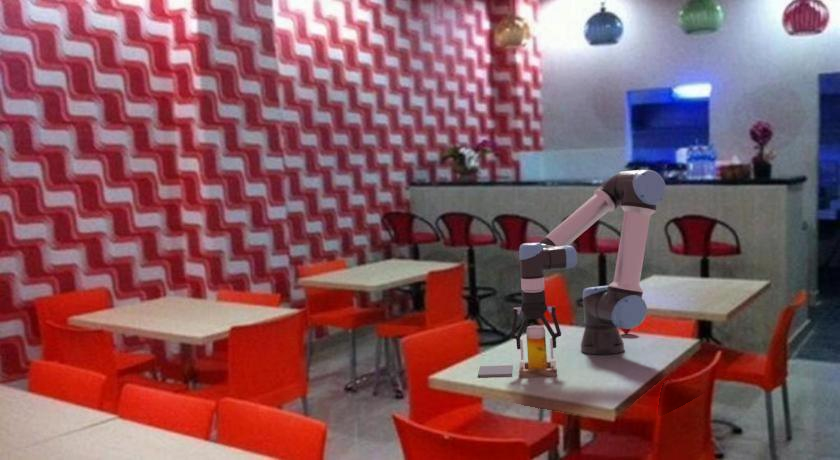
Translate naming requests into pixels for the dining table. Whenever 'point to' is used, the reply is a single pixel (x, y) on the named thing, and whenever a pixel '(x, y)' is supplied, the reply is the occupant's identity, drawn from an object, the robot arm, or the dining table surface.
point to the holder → (537, 370)
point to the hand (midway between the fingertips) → (537, 358)
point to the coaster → (495, 371)
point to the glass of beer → (536, 347)
